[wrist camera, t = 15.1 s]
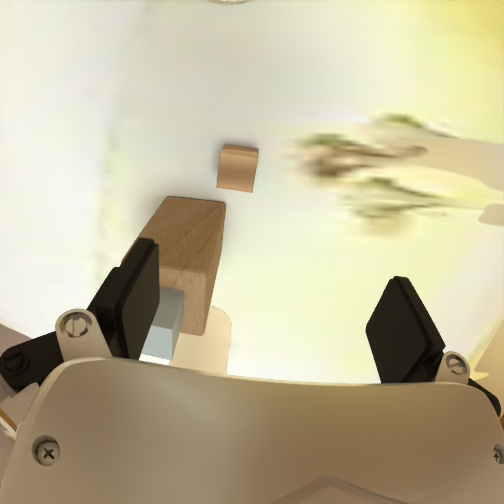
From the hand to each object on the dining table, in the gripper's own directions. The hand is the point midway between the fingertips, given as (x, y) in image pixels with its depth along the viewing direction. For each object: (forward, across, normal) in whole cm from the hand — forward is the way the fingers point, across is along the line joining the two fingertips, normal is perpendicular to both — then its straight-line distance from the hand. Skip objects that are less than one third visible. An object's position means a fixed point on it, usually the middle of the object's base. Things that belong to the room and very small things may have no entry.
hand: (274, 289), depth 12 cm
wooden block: (+37, +9, +17) cm, 41 cm away
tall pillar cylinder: (+36, +5, +40) cm, 54 cm away
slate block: (+16, +9, +17) cm, 25 cm away
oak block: (+36, +3, +5) cm, 37 cm away
